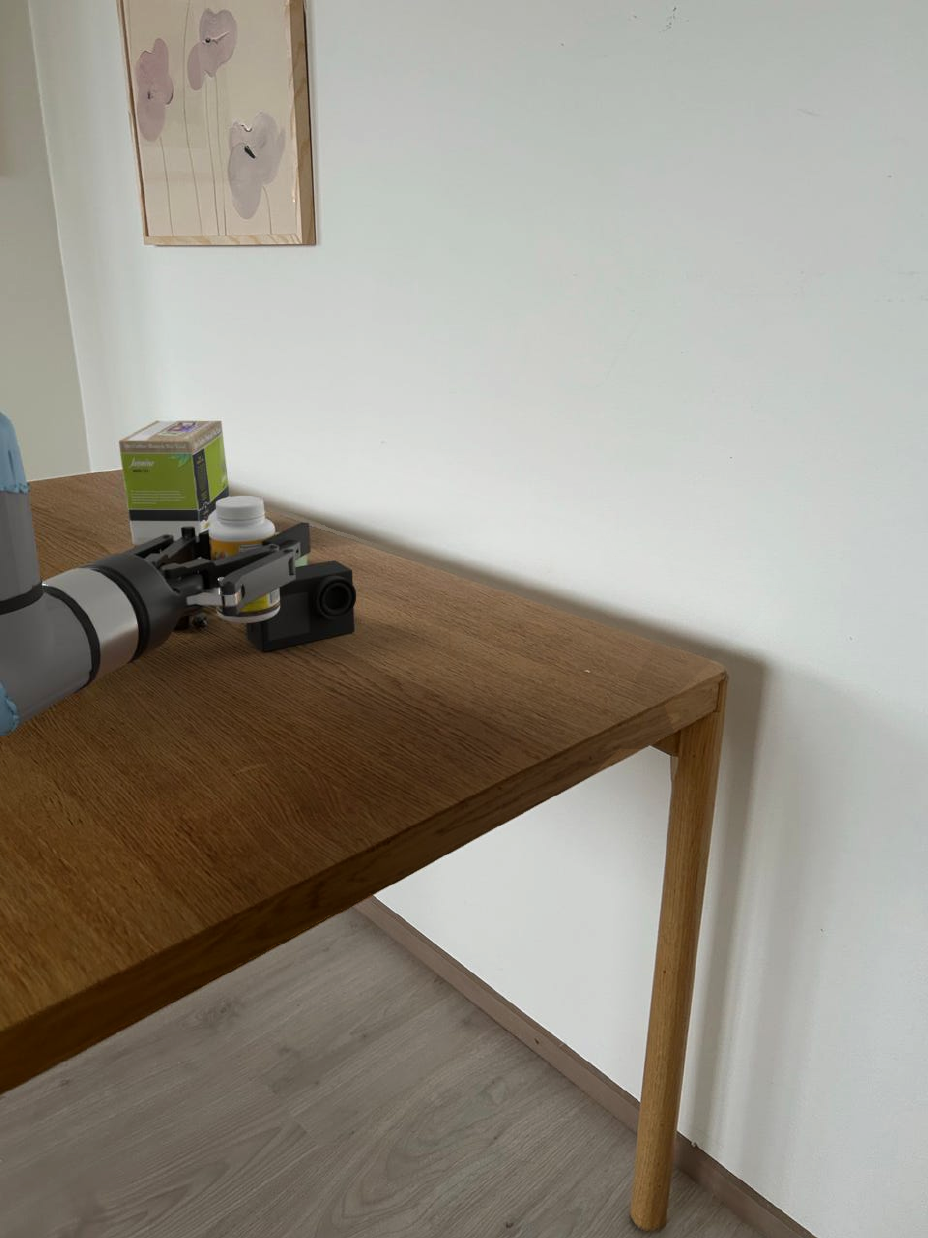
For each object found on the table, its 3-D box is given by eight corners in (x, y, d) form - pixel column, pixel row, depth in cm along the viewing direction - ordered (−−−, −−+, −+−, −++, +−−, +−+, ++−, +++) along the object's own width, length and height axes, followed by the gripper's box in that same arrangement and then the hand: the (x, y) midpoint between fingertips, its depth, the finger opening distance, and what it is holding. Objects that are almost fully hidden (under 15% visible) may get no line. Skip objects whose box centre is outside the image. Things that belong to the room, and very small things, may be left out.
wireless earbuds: (161, 634, 100) (158, 605, 98) (168, 610, 106) (165, 583, 105) (207, 631, 100) (204, 602, 99) (211, 608, 107) (208, 580, 106)
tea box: (166, 517, 143) (156, 418, 137) (233, 519, 142) (225, 419, 137) (130, 547, 129) (116, 437, 123) (203, 548, 128) (193, 438, 123)
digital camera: (267, 657, 94) (262, 590, 92) (246, 639, 98) (241, 575, 96) (360, 636, 99) (358, 572, 97) (337, 620, 104) (334, 558, 101)
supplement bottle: (210, 609, 85) (199, 497, 82) (271, 599, 88) (262, 490, 84) (224, 629, 81) (213, 511, 77) (288, 619, 83) (281, 504, 79)
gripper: (5, 649, 71) (193, 561, 91) (218, 687, 65) (369, 584, 85) (-13, 552, 68) (185, 484, 88) (208, 582, 62) (366, 502, 82)
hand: (275, 533), depth 87 cm, fingers closed on supplement bottle, 6 cm apart
